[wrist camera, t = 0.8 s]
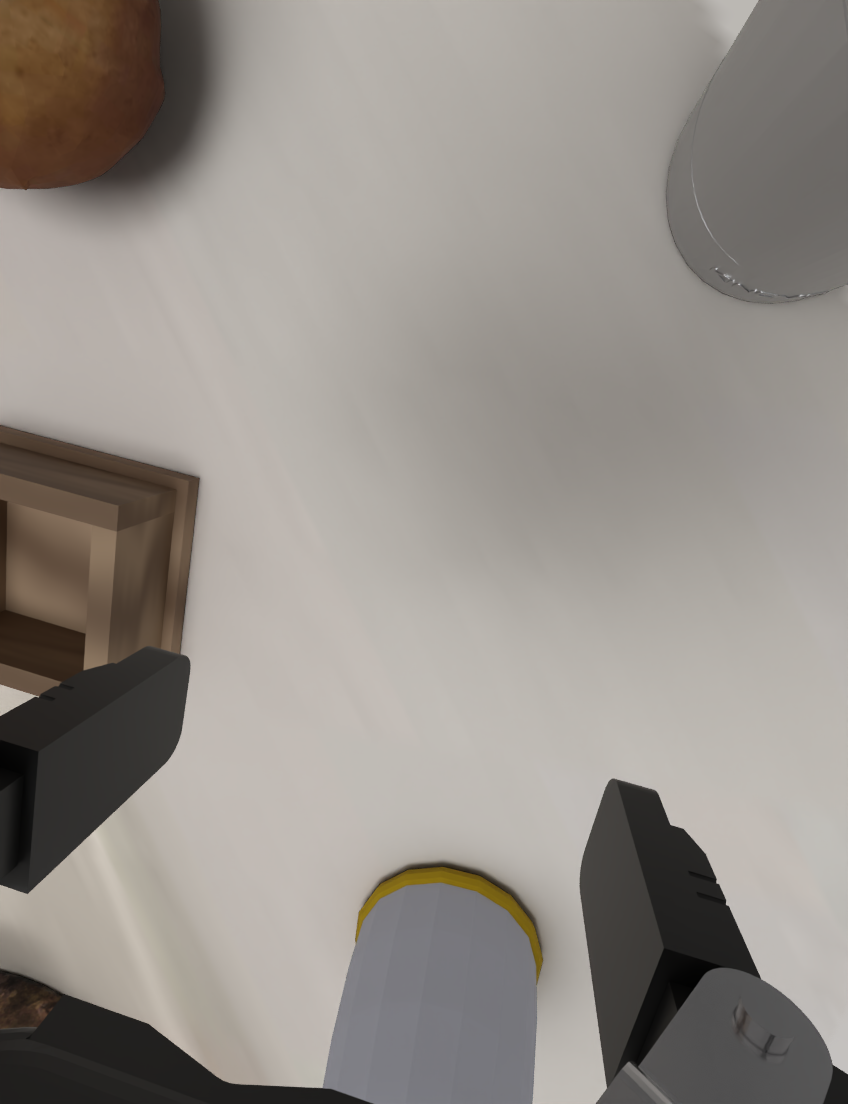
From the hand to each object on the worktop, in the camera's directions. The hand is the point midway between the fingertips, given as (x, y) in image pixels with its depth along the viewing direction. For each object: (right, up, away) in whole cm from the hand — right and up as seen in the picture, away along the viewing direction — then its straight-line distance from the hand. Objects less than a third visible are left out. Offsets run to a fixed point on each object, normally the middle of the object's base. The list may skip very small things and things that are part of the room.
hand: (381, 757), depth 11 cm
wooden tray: (-18, +4, +22) cm, 29 cm away
